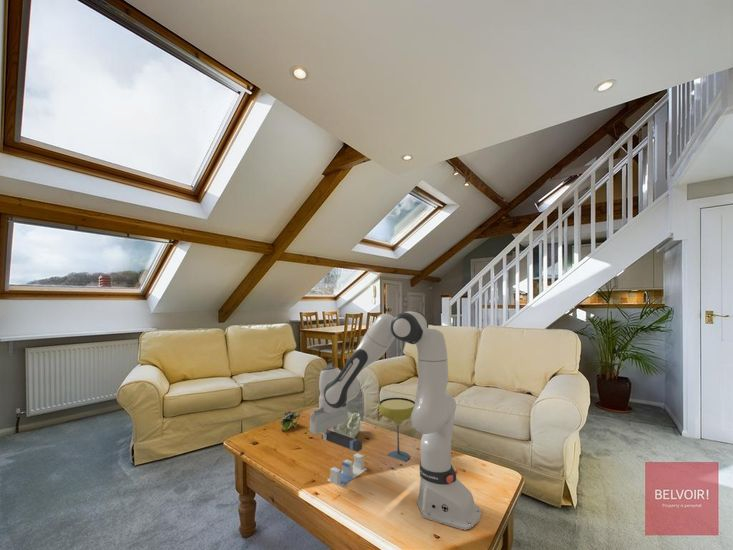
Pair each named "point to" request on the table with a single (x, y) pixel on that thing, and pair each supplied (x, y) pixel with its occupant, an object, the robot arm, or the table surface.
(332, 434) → the long dark grey plank
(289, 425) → the passion flower
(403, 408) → the cocktail glass
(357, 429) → the folded clay sculpture
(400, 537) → the table surface
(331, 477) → the grey and blue pillars
